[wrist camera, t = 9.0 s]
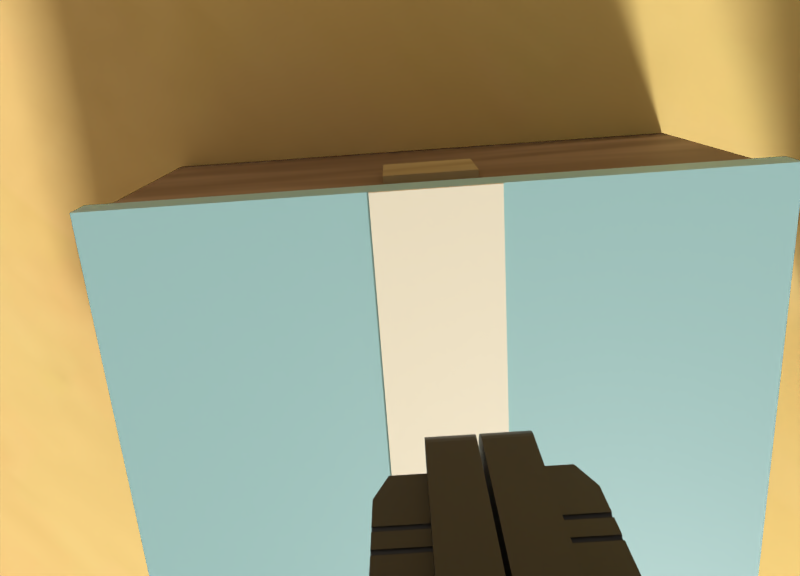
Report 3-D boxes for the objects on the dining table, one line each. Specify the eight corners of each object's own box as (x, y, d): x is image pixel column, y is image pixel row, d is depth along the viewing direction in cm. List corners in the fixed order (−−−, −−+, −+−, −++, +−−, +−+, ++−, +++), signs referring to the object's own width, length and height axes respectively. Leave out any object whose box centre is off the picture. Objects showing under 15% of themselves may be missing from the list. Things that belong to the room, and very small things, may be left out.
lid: (83, 205, 17) (67, 214, 16) (785, 156, 17) (807, 162, 16) (179, 655, 21) (170, 681, 20) (737, 619, 21) (752, 643, 20)
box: (180, 160, 24) (99, 201, 17) (662, 126, 24) (768, 154, 17) (234, 502, 28) (186, 641, 21) (647, 474, 28) (728, 606, 21)
